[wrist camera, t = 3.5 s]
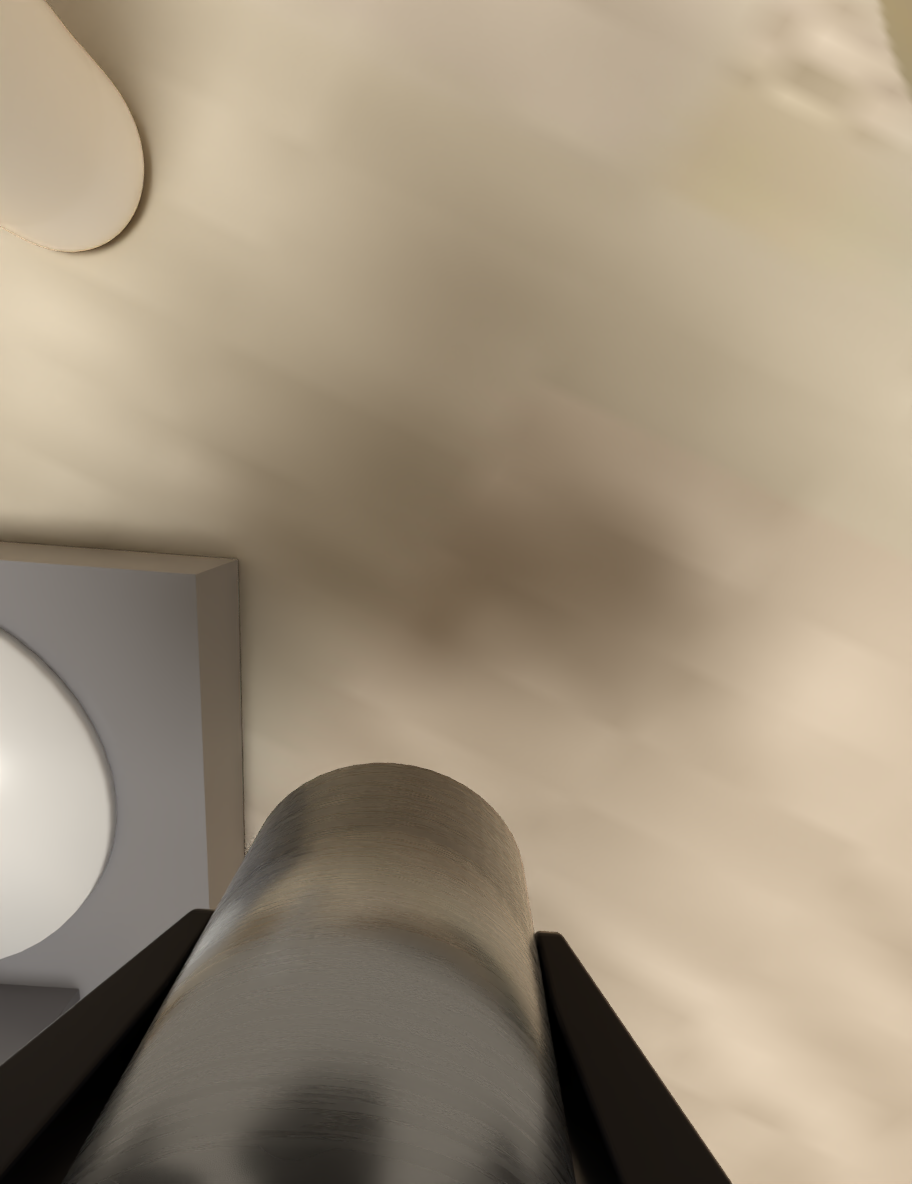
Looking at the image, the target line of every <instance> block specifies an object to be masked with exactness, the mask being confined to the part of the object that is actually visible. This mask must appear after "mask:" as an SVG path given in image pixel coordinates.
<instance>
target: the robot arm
mask: <svg viewBox="0 0 912 1184" xmlns="http://www.w3.org/2000/svg"><path fill="white" fill-rule="evenodd" d="M214 911H215V909H199V908H197V909H193V910H191V911H190V912H188V913H187V914H186V915H185V916H183V917H182V918H181V919H180V920H178V921H177V922H176V923H175V924H173V925H172V926H171V927H170V928H169V929H167V930H166V931H165V932H164V933H162V934H161V935H160V936H159V937H157V938H156V939H155V940H154V941H152V942H151V943H150V944H149V945H148V946H146V947H145V948H144V949H143V950H141V951H140V952H139V953H138V954H136V955H135V956H134V957H133V958H132V959H130V960H129V961H128V962H127V963H125V964H124V965H123V966H122V967H120V968H119V969H118V970H117V971H116V972H114V973H113V974H112V975H111V976H109V977H108V978H107V979H106V980H104V981H103V982H102V983H101V984H99V985H98V986H97V987H96V988H95V989H93V990H92V991H91V992H90V993H88V994H87V995H86V996H85V997H83V998H82V999H81V1000H80V1001H79V1002H77V1003H76V1004H75V1005H74V1006H72V1007H71V1008H70V1009H69V1010H67V1011H66V1012H65V1013H64V1014H62V1015H61V1016H60V1017H59V1018H58V1019H56V1020H55V1021H54V1022H53V1023H51V1024H50V1025H49V1026H48V1027H46V1028H45V1029H44V1030H43V1031H42V1032H40V1033H39V1034H38V1035H37V1036H35V1037H34V1038H33V1039H32V1040H30V1041H29V1042H28V1043H27V1044H26V1045H24V1046H23V1047H22V1048H21V1049H19V1050H18V1051H17V1052H16V1053H14V1054H13V1055H12V1056H11V1057H9V1058H8V1059H7V1060H6V1061H5V1062H3V1063H2V1064H1V1065H0V1184H61V1183H62V1181H63V1180H64V1178H65V1176H66V1174H67V1173H68V1171H69V1169H70V1167H71V1165H72V1164H73V1162H74V1160H75V1158H76V1157H77V1155H78V1153H79V1151H80V1149H81V1148H82V1146H83V1144H84V1142H85V1141H86V1139H87V1137H88V1135H89V1133H90V1132H91V1130H92V1128H93V1126H94V1125H95V1123H96V1121H97V1119H98V1117H99V1116H100V1114H101V1112H102V1110H103V1109H104V1107H105V1105H106V1103H107V1101H108V1100H109V1098H110V1096H111V1094H112V1093H113V1091H114V1089H115V1087H116V1085H117V1084H118V1082H119V1080H120V1078H121V1077H122V1075H123V1073H124V1071H125V1069H126V1068H127V1066H128V1064H129V1062H130V1061H131V1059H132V1057H133V1055H134V1053H135V1052H136V1050H137V1048H138V1046H139V1045H140V1043H141V1041H142V1039H143V1037H144V1036H145V1034H146V1032H147V1030H148V1029H149V1027H150V1025H151V1023H152V1021H153V1020H154V1018H155V1016H156V1014H157V1013H158V1011H159V1009H160V1007H161V1005H162V1004H163V1002H164V1000H165V998H166V997H167V995H168V993H169V991H170V989H171V988H172V986H173V984H174V982H175V981H176V979H177V977H178V975H179V973H180V972H181V970H182V968H183V966H184V965H185V963H186V961H187V959H188V957H189V956H190V954H191V952H192V950H193V949H194V947H195V945H196V943H197V941H198V940H199V938H200V936H201V934H202V933H203V931H204V929H205V927H206V925H207V924H208V922H209V920H210V918H211V917H212V915H213V913H214ZM535 940H536V945H537V951H538V957H539V963H540V969H541V975H542V981H543V987H544V993H545V999H546V1005H547V1011H548V1017H549V1023H550V1029H551V1035H552V1041H553V1047H554V1053H555V1059H556V1065H557V1071H558V1077H559V1082H560V1088H561V1094H562V1100H563V1106H564V1112H565V1118H566V1124H567V1130H568V1136H569V1142H570V1148H571V1154H572V1160H573V1166H574V1172H575V1178H576V1184H732V1183H731V1181H730V1179H729V1178H728V1176H727V1175H726V1174H725V1172H724V1171H723V1169H722V1168H721V1166H720V1165H719V1163H718V1162H717V1160H716V1159H715V1157H714V1156H713V1155H712V1153H711V1152H710V1150H709V1149H708V1147H707V1146H706V1144H705V1143H704V1141H703V1140H702V1138H701V1137H700V1136H699V1134H698V1133H697V1131H696V1130H695V1128H694V1127H693V1125H692V1124H691V1122H690V1121H689V1120H688V1118H687V1117H686V1115H685V1114H684V1112H683V1111H682V1109H681V1108H680V1106H679V1105H678V1103H677V1102H676V1101H675V1099H674V1098H673V1096H672V1095H671V1093H670V1092H669V1090H668V1089H667V1087H666V1086H665V1084H664V1083H663V1082H662V1080H661V1079H660V1077H659V1076H658V1074H657V1073H656V1071H655V1070H654V1068H653V1067H652V1066H651V1064H650V1063H649V1061H648V1060H647V1058H646V1057H645V1055H644V1054H643V1052H642V1051H641V1049H640V1048H639V1047H638V1045H637V1044H636V1042H635V1041H634V1039H633V1038H632V1036H631V1035H630V1033H629V1032H628V1030H627V1029H626V1028H625V1026H624V1025H623V1023H622V1022H621V1020H620V1019H619V1017H618V1016H617V1014H616V1013H615V1012H614V1010H613V1009H612V1007H611V1006H610V1004H609V1003H608V1001H607V1000H606V998H605V997H604V995H603V994H602V993H601V991H600V990H599V988H598V987H597V985H596V984H595V982H594V981H593V979H592V978H591V976H590V975H589V974H588V972H587V971H586V969H585V968H584V966H583V965H582V963H581V962H580V960H579V959H578V958H577V956H576V955H575V953H574V952H573V950H572V949H571V947H570V946H569V944H568V943H567V941H566V940H565V939H564V937H563V936H562V935H561V934H560V933H558V932H547V931H538V932H536V933H535Z"/></svg>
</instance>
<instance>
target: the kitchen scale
mask: <svg viewBox="0 0 912 1184" xmlns="http://www.w3.org/2000/svg"><path fill="white" fill-rule="evenodd" d="M244 858H245V854H244V808H243V762H242V716H241V670H240V624H239V578H238V559H230V558H216V557H203V556H189V555H176V554H163V553H149V552H136V551H122V550H109V549H95V548H82V547H68V546H55V545H42V544H28V543H15V542H1V541H0V1065H1V1064H2V1063H3V1062H5V1061H6V1060H7V1059H8V1058H9V1057H11V1056H12V1055H13V1054H14V1053H16V1052H17V1051H18V1050H19V1049H21V1048H22V1047H23V1046H24V1045H26V1044H27V1043H28V1042H29V1041H30V1040H32V1039H33V1038H34V1037H35V1036H37V1035H38V1034H39V1033H40V1032H42V1031H43V1030H44V1029H45V1028H46V1027H48V1026H49V1025H50V1024H51V1023H53V1022H54V1021H55V1020H56V1019H58V1018H59V1017H60V1016H61V1015H62V1014H64V1013H65V1012H66V1011H67V1010H69V1009H70V1008H71V1007H72V1006H74V1005H75V1004H76V1003H77V1002H79V1001H80V1000H81V999H82V998H83V997H85V996H86V995H87V994H88V993H90V992H91V991H92V990H93V989H95V988H96V987H97V986H98V985H99V984H101V983H102V982H103V981H104V980H106V979H107V978H108V977H109V976H111V975H112V974H113V973H114V972H116V971H117V970H118V969H119V968H120V967H122V966H123V965H124V964H125V963H127V962H128V961H129V960H130V959H132V958H133V957H134V956H135V955H136V954H138V953H139V952H140V951H141V950H143V949H144V948H145V947H146V946H148V945H149V944H150V943H151V942H152V941H154V940H155V939H156V938H157V937H159V936H160V935H161V934H162V933H164V932H165V931H166V930H167V929H169V928H170V927H171V926H172V925H173V924H175V923H176V922H177V921H178V920H180V919H181V918H182V917H183V916H185V915H186V914H187V913H188V912H190V911H191V910H193V909H197V908H199V909H216V908H217V906H218V904H219V902H220V901H221V899H222V897H223V895H224V893H225V892H226V890H227V888H228V886H229V885H230V883H231V881H232V879H233V877H234V876H235V874H236V872H237V870H238V869H239V867H240V865H241V863H242V861H243V860H244Z"/></svg>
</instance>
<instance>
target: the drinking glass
mask: <svg viewBox="0 0 912 1184" xmlns="http://www.w3.org/2000/svg"><path fill="white" fill-rule="evenodd" d="M143 182H144V157H143V150H142V145H141V140H140V137H139V133H138V130H137V127H136V124H135V122H134V119H133V117H132V114H131V112H130V110H129V108H128V106H127V104H126V103H125V101H124V99H123V97H122V96H121V94H120V92H119V91H118V90H117V88H116V87H115V85H114V84H113V83H112V81H111V80H110V79H109V77H108V76H107V75H106V74H105V73H104V71H103V70H102V69H101V68H100V67H99V65H98V64H97V63H96V62H95V61H94V60H93V58H92V57H91V56H90V55H89V54H88V53H87V51H86V50H85V49H84V48H83V47H82V46H81V45H80V43H79V42H78V41H77V40H76V39H75V38H74V37H73V35H72V34H71V33H70V32H69V31H68V29H67V28H66V27H65V25H64V24H63V23H62V22H61V20H60V19H59V18H58V16H57V15H56V14H55V12H54V11H53V10H52V8H51V7H50V6H49V5H48V3H47V2H46V1H45V0H0V227H1V228H3V229H5V230H6V231H8V232H10V233H12V234H14V235H16V236H18V237H19V238H21V239H23V240H25V241H28V242H30V243H32V244H35V245H37V246H40V247H43V248H47V249H51V250H56V251H63V252H79V251H86V250H90V249H94V248H96V247H99V246H102V245H104V244H105V243H107V242H109V241H111V240H112V239H113V238H115V237H116V236H117V235H118V234H119V233H121V231H122V230H123V229H124V228H125V227H126V226H127V224H128V223H129V222H130V220H131V219H132V217H133V215H134V213H135V211H136V209H137V207H138V204H139V201H140V198H141V194H142V189H143Z"/></svg>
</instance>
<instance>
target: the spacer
mask: <svg viewBox="0 0 912 1184" xmlns="http://www.w3.org/2000/svg"><path fill="white" fill-rule="evenodd" d="M61 1184H576V1178H575V1172H574V1166H573V1160H572V1154H571V1148H570V1142H569V1136H568V1130H567V1124H566V1118H565V1112H564V1106H563V1100H562V1094H561V1088H560V1082H559V1077H558V1071H557V1065H556V1059H555V1053H554V1047H553V1041H552V1035H551V1029H550V1023H549V1017H548V1011H547V1005H546V999H545V993H544V987H543V981H542V975H541V969H540V963H539V957H538V951H537V945H536V940H535V934H534V928H533V922H532V916H531V910H530V904H529V898H528V892H527V886H526V880H525V874H524V868H523V863H522V859H521V856H520V852H519V849H518V847H517V844H516V842H515V840H514V837H513V835H512V833H511V832H510V830H509V829H508V827H507V825H506V824H505V822H504V821H503V819H502V818H501V817H500V816H499V815H498V813H497V812H496V811H495V810H494V809H493V808H492V807H491V806H490V805H489V804H488V803H487V802H486V801H485V800H484V799H483V798H481V797H480V796H479V795H478V794H476V793H475V792H473V791H472V790H471V789H469V788H468V787H466V786H465V785H463V784H461V783H459V782H457V781H455V780H453V779H452V778H450V777H447V776H445V775H442V774H440V773H437V772H434V771H432V770H428V769H424V768H420V767H416V766H412V765H404V764H396V763H369V764H360V765H353V766H349V767H344V768H340V769H336V770H334V771H331V772H328V773H325V774H323V775H320V776H318V777H316V778H314V779H312V780H310V781H308V782H306V783H305V784H303V785H302V786H300V787H299V788H297V789H296V790H294V791H293V792H292V793H290V794H289V795H288V796H287V797H286V798H285V799H284V800H283V801H282V802H280V803H279V804H278V805H277V806H276V808H275V809H274V810H273V811H272V813H271V814H270V815H269V816H268V818H267V819H266V821H265V823H264V824H263V826H262V828H261V830H260V831H259V833H258V835H257V837H256V838H255V840H254V842H253V844H252V845H251V847H250V849H249V851H248V853H247V854H246V856H245V858H244V860H243V861H242V863H241V865H240V867H239V869H238V870H237V872H236V874H235V876H234V877H233V879H232V881H231V883H230V885H229V886H228V888H227V890H226V892H225V893H224V895H223V897H222V899H221V901H220V902H219V904H218V906H217V908H216V909H215V911H214V913H213V915H212V917H211V918H210V920H209V922H208V924H207V925H206V927H205V929H204V931H203V933H202V934H201V936H200V938H199V940H198V941H197V943H196V945H195V947H194V949H193V950H192V952H191V954H190V956H189V957H188V959H187V961H186V963H185V965H184V966H183V968H182V970H181V972H180V973H179V975H178V977H177V979H176V981H175V982H174V984H173V986H172V988H171V989H170V991H169V993H168V995H167V997H166V998H165V1000H164V1002H163V1004H162V1005H161V1007H160V1009H159V1011H158V1013H157V1014H156V1016H155V1018H154V1020H153V1021H152V1023H151V1025H150V1027H149V1029H148V1030H147V1032H146V1034H145V1036H144V1037H143V1039H142V1041H141V1043H140V1045H139V1046H138V1048H137V1050H136V1052H135V1053H134V1055H133V1057H132V1059H131V1061H130V1062H129V1064H128V1066H127V1068H126V1069H125V1071H124V1073H123V1075H122V1077H121V1078H120V1080H119V1082H118V1084H117V1085H116V1087H115V1089H114V1091H113V1093H112V1094H111V1096H110V1098H109V1100H108V1101H107V1103H106V1105H105V1107H104V1109H103V1110H102V1112H101V1114H100V1116H99V1117H98V1119H97V1121H96V1123H95V1125H94V1126H93V1128H92V1130H91V1132H90V1133H89V1135H88V1137H87V1139H86V1141H85V1142H84V1144H83V1146H82V1148H81V1149H80V1151H79V1153H78V1155H77V1157H76V1158H75V1160H74V1162H73V1164H72V1165H71V1167H70V1169H69V1171H68V1173H67V1174H66V1176H65V1178H64V1180H63V1181H62V1183H61Z"/></svg>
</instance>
